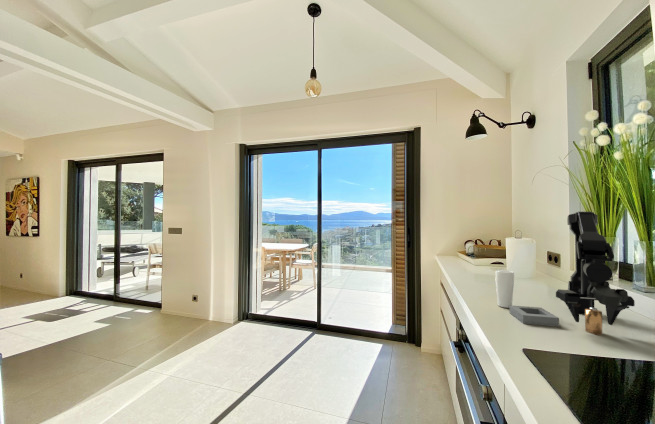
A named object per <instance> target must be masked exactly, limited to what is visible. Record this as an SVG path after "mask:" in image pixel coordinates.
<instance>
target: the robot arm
mask: <svg viewBox="0 0 655 424" xmlns="http://www.w3.org/2000/svg"><path fill="white" fill-rule="evenodd" d="M598 220H599V219H598V214H597V213H595V212H593V211H576V212H575V213H571V214H568V215H567V220H566V221H567V225H568V226H569V230H570V231H571V233H572V234H573V235H574V253H575V254H574V256H575V257H574V258H575V259H574V260H575V261H574V262H575V265H574V266H575V271H574V272H573V273H572V274H571V275H570V280H568V283H567V289H559V288H558V290H556V291H555V297H556V298H557V299H560V301H561V302H564V304H565V305H566V307H567V308H568V310H569V311H570V313H571V316H572V317H573V319H574V321H575V323H580V315H585V309H586V308H589V309H590V307H594V308H595V301H598V303H600V304H601V305H604V306H605V313H606V321H607V324H608V325H610V326H613V325H614V323H615V321H616V319H617V317H618V315H619V314H620V313H621V312H622V311H623V310H626V309H630V307H635V304H636V303H635V302H636V301H635V300H634V298H633V297H632V296H630V295H629V293H628V291H627V290H625V289H623V288H616V289H615V288H611V287H610V282H609V280H611V278H612V277H613V271H612V269H611V268H610V266H608V265H607V264H606V262H613V259H615V255H614V251H613V247H612V246H611V244H610V243H609V242H608V241H607V239H606V237H605V236H604V235H602V234H600V233H599V231H598V228H597V226H598V224H599V223H598V222H599V221H598Z"/></svg>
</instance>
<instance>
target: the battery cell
mask: <svg viewBox="0 0 655 424" xmlns="http://www.w3.org/2000/svg"><path fill="white" fill-rule="evenodd" d="M584 324H585V325H584V327H585V328H584V330H585V332H586V333H589V334H592V335H596V336H601V335H603V311H601V310H599V309H598V308H597V307H595V306H594V307H590V309H589V308H586V309H585V314H584Z"/></svg>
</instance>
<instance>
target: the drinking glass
mask: <svg viewBox="0 0 655 424" xmlns="http://www.w3.org/2000/svg"><path fill="white" fill-rule="evenodd" d="M494 279H495V290H496V302H497V305H498V307H500V308H505V309H510V305H512V306H513V301H514V299H513V297H514V287H515V272H514V271H512V270H508V269H496V270H495V272H494Z"/></svg>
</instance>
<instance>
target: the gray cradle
mask: <svg viewBox="0 0 655 424" xmlns="http://www.w3.org/2000/svg"><path fill="white" fill-rule="evenodd" d="M509 314H511V316H513V317H514V318H515V319H516V320H518V321H519V322H520V323H522V324H524V325H525V324H527V325H535V326H547V327H548V326H549V327H558V328H559V327H560V318H559V316H556V315H555V314H554V313H551V312H550V311H548V310H546V309H544V308H542V307H537V306H536V307H535V306H522V305H513V304H512V305H510V308H509Z"/></svg>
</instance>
